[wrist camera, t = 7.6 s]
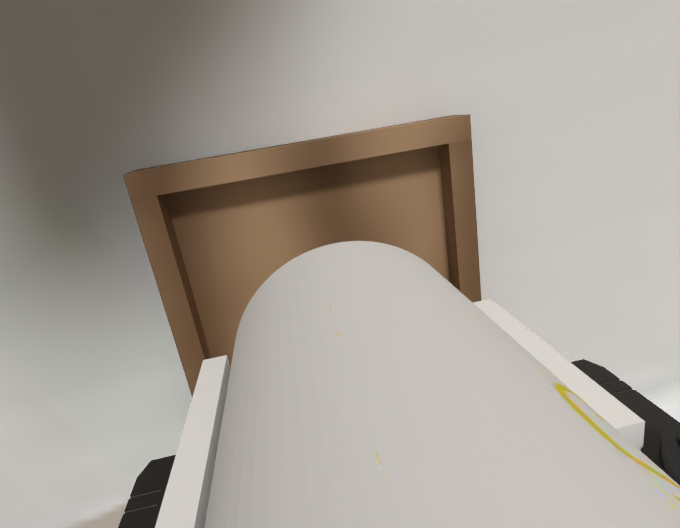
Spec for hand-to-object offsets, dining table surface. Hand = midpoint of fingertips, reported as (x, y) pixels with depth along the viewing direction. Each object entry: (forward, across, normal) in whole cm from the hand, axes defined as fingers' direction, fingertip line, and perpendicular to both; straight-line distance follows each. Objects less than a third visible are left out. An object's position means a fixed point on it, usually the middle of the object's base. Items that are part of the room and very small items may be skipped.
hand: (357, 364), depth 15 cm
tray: (+7, 0, 0) cm, 7 cm away
